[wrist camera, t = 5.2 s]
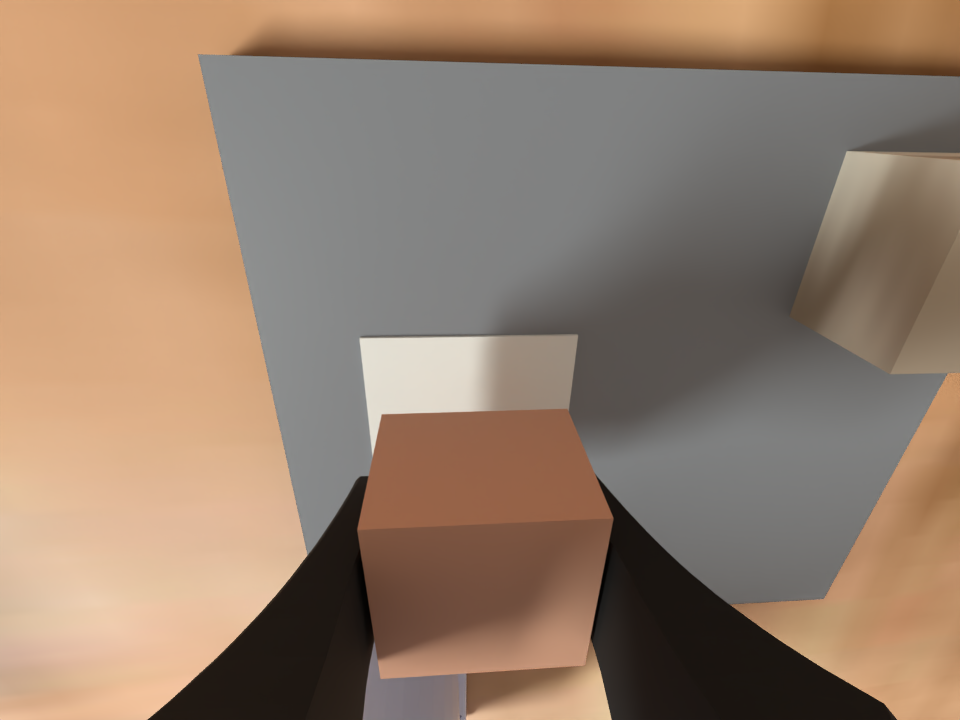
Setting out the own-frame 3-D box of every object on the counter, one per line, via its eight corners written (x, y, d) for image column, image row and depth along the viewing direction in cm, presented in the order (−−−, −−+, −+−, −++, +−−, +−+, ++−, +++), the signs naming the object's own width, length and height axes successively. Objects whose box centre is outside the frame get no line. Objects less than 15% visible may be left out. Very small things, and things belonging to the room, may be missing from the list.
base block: (552, 538, 14) (584, 665, 11) (395, 546, 13) (380, 679, 10) (567, 408, 12) (613, 518, 8) (381, 414, 11) (357, 529, 8)
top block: (929, 315, 14) (1067, 370, 11) (789, 316, 14) (889, 374, 11) (1009, 153, 12) (1206, 166, 9) (846, 151, 12) (992, 162, 9)
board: (805, 575, 22) (825, 601, 21) (329, 600, 20) (322, 629, 19) (1053, 83, 13) (1113, 80, 12) (221, 60, 11) (196, 53, 10)
